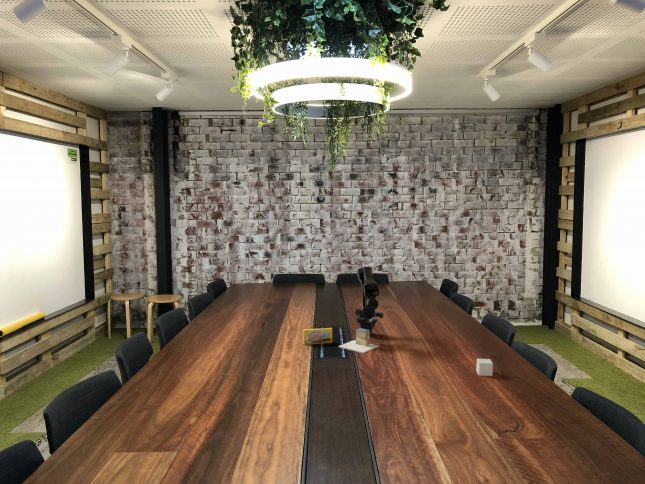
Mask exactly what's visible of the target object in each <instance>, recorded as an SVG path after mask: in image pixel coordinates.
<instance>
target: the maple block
mask: <svg viewBox="0 0 645 484" xmlns="http://www.w3.org/2000/svg"><path fill="white" fill-rule="evenodd" d="M355 341H356V344H358V345H362V346H367V345H369V344H370V335H369V330H367V329H362V328H360V327H359V328H357V329H355Z"/></svg>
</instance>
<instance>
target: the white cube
mask: <svg viewBox="0 0 645 484" xmlns="http://www.w3.org/2000/svg"><path fill="white" fill-rule="evenodd" d="M475 367H476V369H475V371H476V373H477V374H478V376H479V377H481V376H482V377H483V376H485V377H492V376H493V372H494V369H493V368H494V363H493V362H492V360H491V359H490V358H476V366H475Z"/></svg>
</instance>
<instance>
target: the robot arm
mask: <svg viewBox="0 0 645 484" xmlns="http://www.w3.org/2000/svg"><path fill="white" fill-rule="evenodd" d="M356 275H357V277H358V281H359V282H360V285H361V306H362V307H361V309H360V308H357V309H355V310H354V315H356V323H358V325H360V327H359V328H362V329H367V330H369V336H371V335H372V334H374V332H373V329H374V327H375V325H376V324H377V323H378V321H379V320H378V319H377V318H379V319H383V318H384V313H383V312H380V311H376V310H377V309H378V307H379V306H380V305H379V301H378V299H377V297H379V296H380V288H379V284H377V282H376V280H374V279H373V278H374V277H373V268H371V267H370V266H361V268H358V269H357V271H356Z"/></svg>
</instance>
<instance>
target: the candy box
mask: <svg viewBox="0 0 645 484" xmlns="http://www.w3.org/2000/svg"><path fill="white" fill-rule="evenodd" d="M302 332H303V334H302V335H303V337H302V338H303V339H302V344H303V345H304V346H306V345H317V344H318V345H319V344H330V343H331V344H332V343H333V328H332V327H326V328H325V327H322V328H308V329H307V328H306V329H303V331H302Z"/></svg>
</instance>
